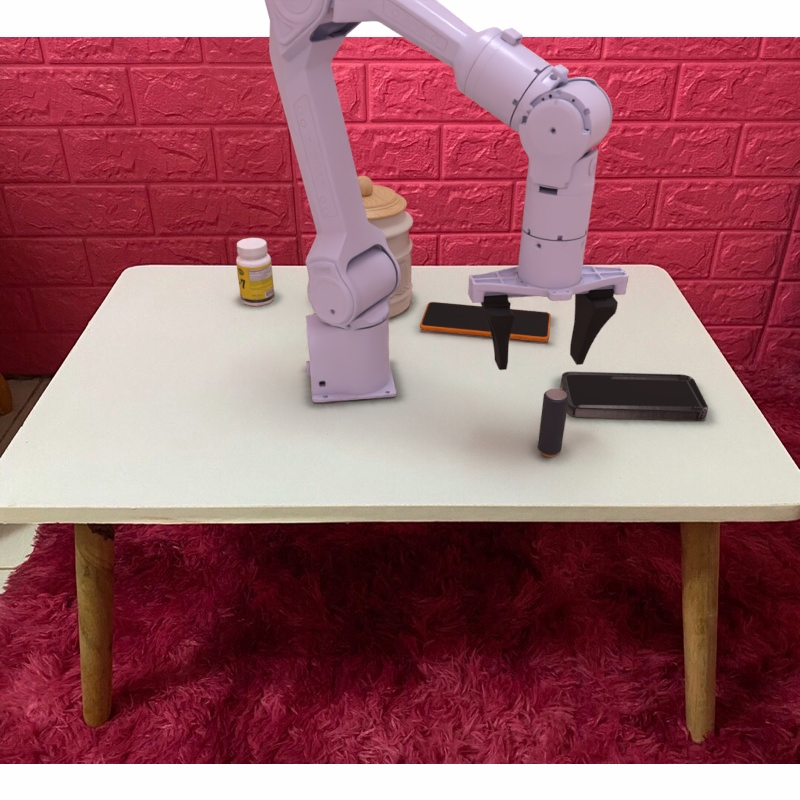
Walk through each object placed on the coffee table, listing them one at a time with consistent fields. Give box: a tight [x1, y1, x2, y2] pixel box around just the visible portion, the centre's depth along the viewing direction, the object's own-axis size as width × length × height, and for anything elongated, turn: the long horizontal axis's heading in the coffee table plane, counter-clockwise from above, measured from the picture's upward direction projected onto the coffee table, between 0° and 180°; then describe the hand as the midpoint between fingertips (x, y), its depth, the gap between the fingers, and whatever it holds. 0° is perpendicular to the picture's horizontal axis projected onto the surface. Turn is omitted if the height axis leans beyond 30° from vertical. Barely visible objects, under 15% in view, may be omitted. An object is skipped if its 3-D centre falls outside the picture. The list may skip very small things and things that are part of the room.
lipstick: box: [537, 388, 569, 458], centre depth 77 cm, size 2×2×7 cm
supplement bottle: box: [235, 237, 276, 307], centre depth 106 cm, size 5×5×8 cm
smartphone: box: [419, 301, 552, 342], centre depth 102 cm, size 8×17×1 cm, turn 79°
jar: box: [357, 175, 414, 319], centre depth 103 cm, size 13×13×18 cm
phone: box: [560, 371, 709, 421], centre depth 86 cm, size 8×1×15 cm
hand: (538, 362), depth 75 cm, fingers open, 7 cm apart
